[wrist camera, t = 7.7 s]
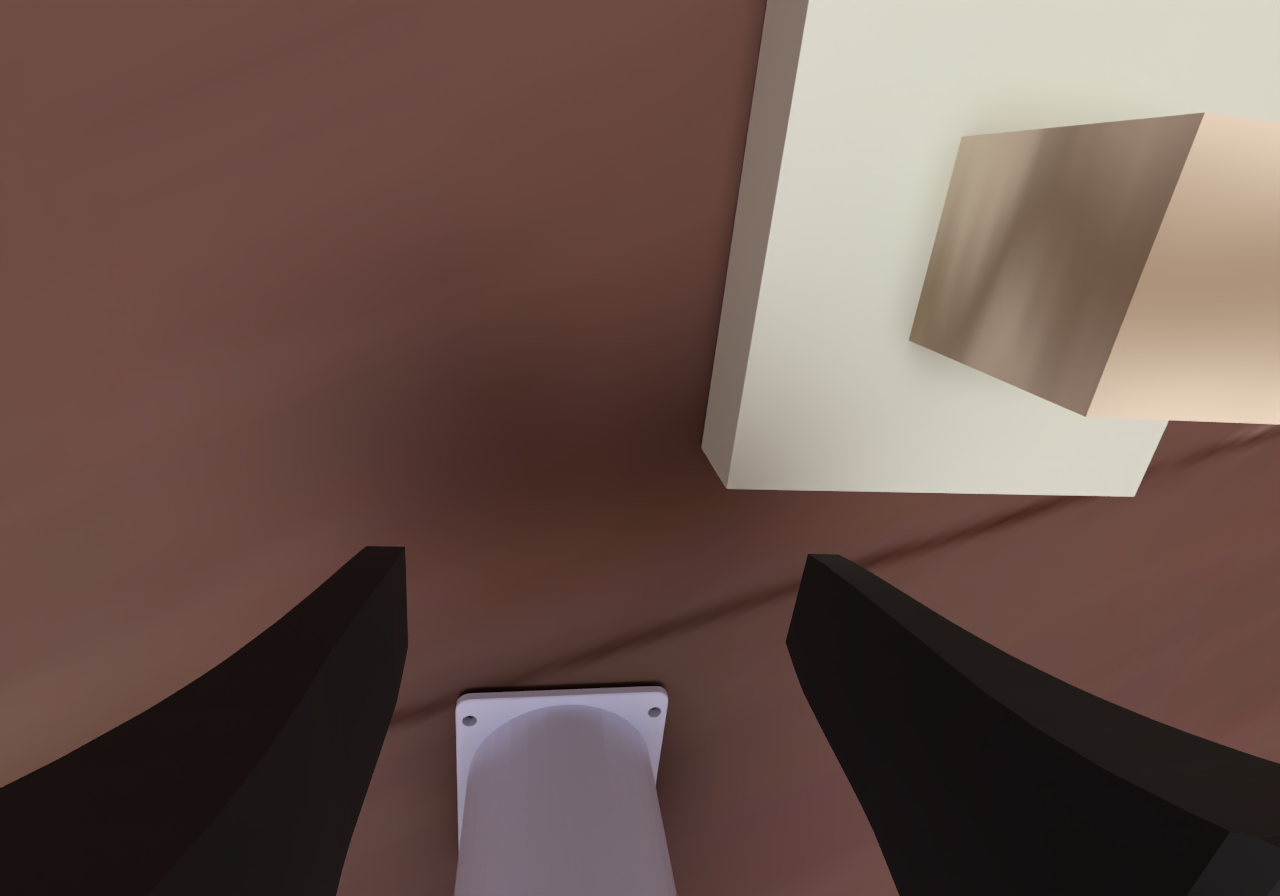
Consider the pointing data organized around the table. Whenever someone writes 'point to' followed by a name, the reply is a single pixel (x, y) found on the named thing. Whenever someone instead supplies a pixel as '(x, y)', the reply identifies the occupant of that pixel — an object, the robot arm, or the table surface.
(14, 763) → the table surface
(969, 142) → the ash block
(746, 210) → the base plinth
